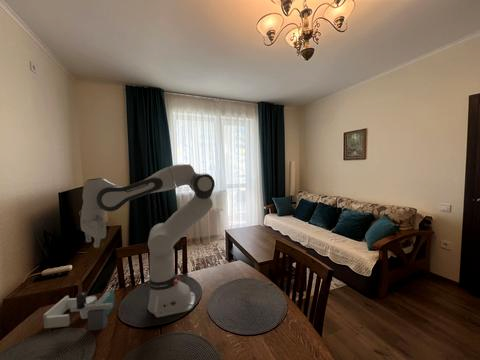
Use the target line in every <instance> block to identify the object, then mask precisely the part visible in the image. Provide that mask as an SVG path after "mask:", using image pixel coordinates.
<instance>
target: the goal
mask: <svg viewBox="0 0 480 360" xmlns="http://www.w3.org/2000/svg"><path fill="white" fill-rule="evenodd" d="M76 305H77V301H76V297H74V298H73V297H71V298H70V295H65V296H64V297H63V298H62V299H60V300H59V301H58V302H57V303H55V304H54V305H53V306H52V307H51V308H49V310H47V311H46V312H45V313H44V314H43V328H44V329H51V328H52V329H53V328H61V327H69V325H70V323H71V320H70V314H68V313H67V314H64V313H65V312H66V311H67V310H70V308H71V307H72V306H76Z"/></svg>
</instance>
